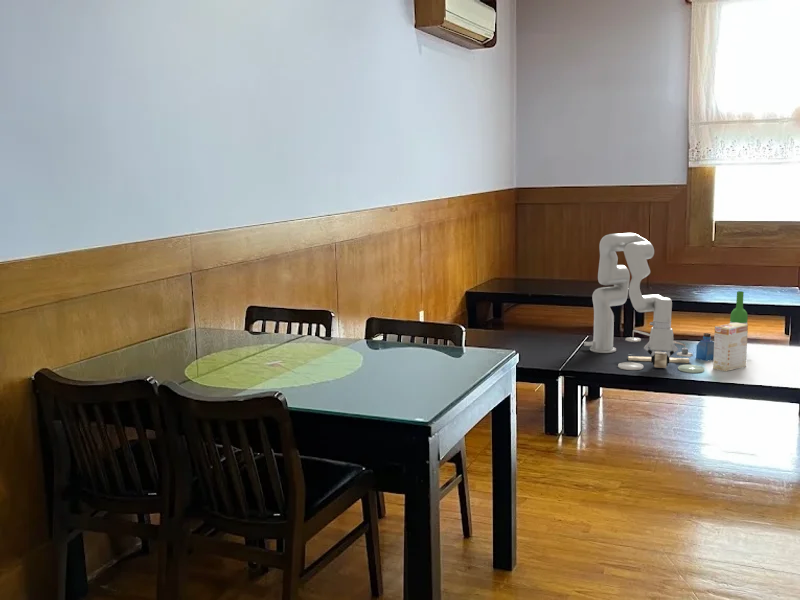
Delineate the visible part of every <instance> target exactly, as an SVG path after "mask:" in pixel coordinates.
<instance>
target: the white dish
mask: <svg viewBox="0 0 800 600" xmlns="http://www.w3.org/2000/svg"><path fill="white" fill-rule="evenodd" d="M617 368H618V369H621V370H625V371H640V370H643V369H644V365H643V364H642V363H640V362H634V361H633V362H632V361H625V362H624V361H623V362H619V363H618V365H617Z"/></svg>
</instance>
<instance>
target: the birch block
mask: <svg viewBox="0 0 800 600" xmlns="http://www.w3.org/2000/svg"><path fill="white" fill-rule="evenodd" d="M654 355H655V365H653V366H654V368H658V369H659V368H661V369H662V368H663V369H667V366H666V363H667V352H666V351H660V352H657V351H655V354H654Z"/></svg>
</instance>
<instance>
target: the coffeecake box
mask: <svg viewBox="0 0 800 600" xmlns="http://www.w3.org/2000/svg"><path fill="white" fill-rule="evenodd" d="M748 330H749V324H748V323H747V324H742V323H736V322H735V323H730V322H729V323H724V324H720V325H715V326H714V336H713V337H714V338H713V339H714V341H713V342H714V358H713V360H712V361H713V363H712V369H713V370H717V369H718V371H722V372H730V371H733V370H737V369H741V368H745V367H746V368H747V355H748V354H747V349H748V348H747V347H748V335H749V333H748Z"/></svg>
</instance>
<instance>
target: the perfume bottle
mask: <svg viewBox="0 0 800 600" xmlns="http://www.w3.org/2000/svg"><path fill="white" fill-rule="evenodd" d="M711 339H712V336H711V333H709V332H708V333H707V332H706V333H703V336H702V339H701V340H699V342H698V343H697V345H696V351H695V353H696V354H695V359H698V360H702V361H705V362H707V361H708V360H709V361H713V358H714V341H713V340H711Z"/></svg>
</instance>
